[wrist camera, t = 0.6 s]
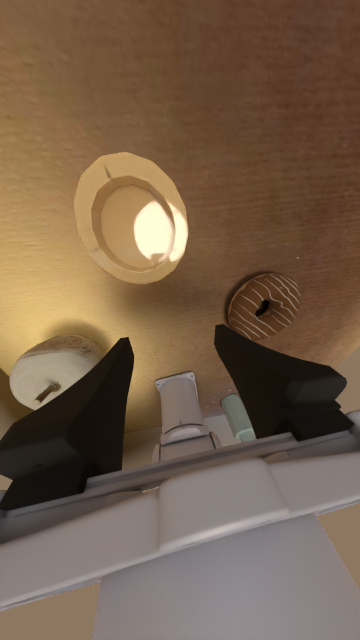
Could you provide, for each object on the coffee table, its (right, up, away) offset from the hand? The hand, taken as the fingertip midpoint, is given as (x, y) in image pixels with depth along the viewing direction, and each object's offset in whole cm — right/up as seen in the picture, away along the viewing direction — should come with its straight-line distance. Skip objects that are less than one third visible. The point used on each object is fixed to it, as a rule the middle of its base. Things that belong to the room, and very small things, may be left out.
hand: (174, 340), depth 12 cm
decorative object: (-15, -2, +10) cm, 18 cm away
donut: (+13, +4, +11) cm, 18 cm away
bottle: (+13, -19, +25) cm, 34 cm away
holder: (-4, +12, +4) cm, 13 cm away
